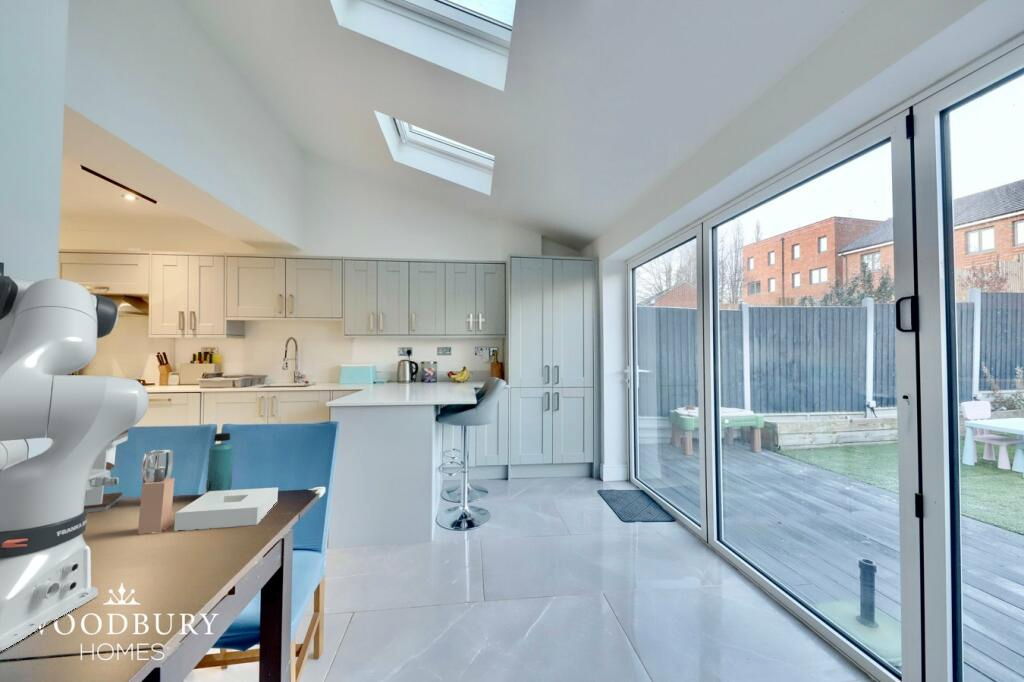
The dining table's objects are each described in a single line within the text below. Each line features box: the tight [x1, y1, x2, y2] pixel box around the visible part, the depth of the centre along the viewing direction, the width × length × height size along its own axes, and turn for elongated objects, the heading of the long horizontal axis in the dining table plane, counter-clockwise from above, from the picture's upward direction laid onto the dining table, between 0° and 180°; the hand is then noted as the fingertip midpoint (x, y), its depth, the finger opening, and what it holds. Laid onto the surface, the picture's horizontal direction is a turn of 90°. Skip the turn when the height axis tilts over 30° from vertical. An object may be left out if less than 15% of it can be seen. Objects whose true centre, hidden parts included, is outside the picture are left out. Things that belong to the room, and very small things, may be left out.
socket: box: [173, 487, 279, 532], centre depth 108 cm, size 18×18×4 cm
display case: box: [84, 429, 129, 514], centre depth 113 cm, size 11×11×35 cm
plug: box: [137, 468, 175, 535], centre depth 98 cm, size 4×4×15 cm
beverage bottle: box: [205, 432, 234, 494], centre depth 123 cm, size 6×7×20 cm
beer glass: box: [139, 449, 174, 505], centre depth 117 cm, size 7×7×15 cm
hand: (101, 487), depth 96 cm, fingers open, 8 cm apart
